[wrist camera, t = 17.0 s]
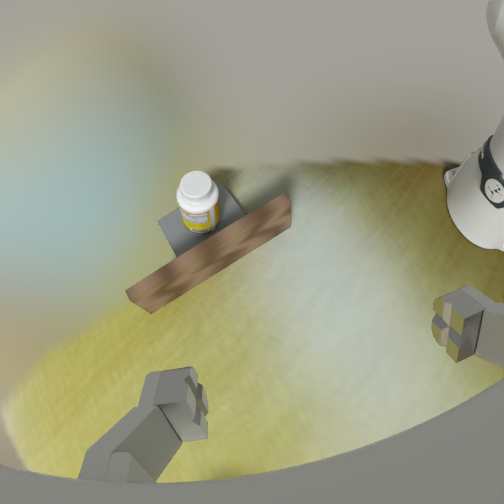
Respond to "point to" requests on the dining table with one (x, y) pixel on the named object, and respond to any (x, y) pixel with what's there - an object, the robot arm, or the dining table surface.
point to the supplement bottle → (199, 202)
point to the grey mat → (186, 240)
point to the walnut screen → (212, 255)
